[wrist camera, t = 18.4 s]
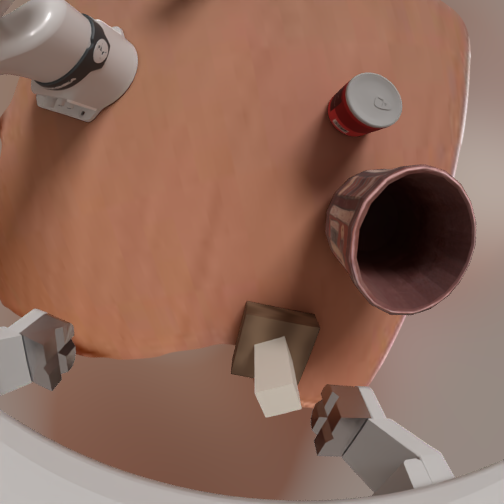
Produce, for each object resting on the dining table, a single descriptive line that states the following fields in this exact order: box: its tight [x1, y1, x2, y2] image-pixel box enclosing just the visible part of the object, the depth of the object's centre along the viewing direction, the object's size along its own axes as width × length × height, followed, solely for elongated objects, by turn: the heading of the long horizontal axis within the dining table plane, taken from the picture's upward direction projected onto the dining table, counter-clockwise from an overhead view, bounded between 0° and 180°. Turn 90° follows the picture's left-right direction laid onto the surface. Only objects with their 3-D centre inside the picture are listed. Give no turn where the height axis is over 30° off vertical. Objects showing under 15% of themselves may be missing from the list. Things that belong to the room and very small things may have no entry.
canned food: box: [328, 73, 402, 136], centre depth 37 cm, size 8×8×11 cm
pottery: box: [325, 165, 476, 315], centre depth 37 cm, size 18×18×18 cm
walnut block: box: [231, 301, 320, 385], centre depth 49 cm, size 12×12×5 cm
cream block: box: [254, 336, 301, 417], centre depth 41 cm, size 5×5×12 cm
